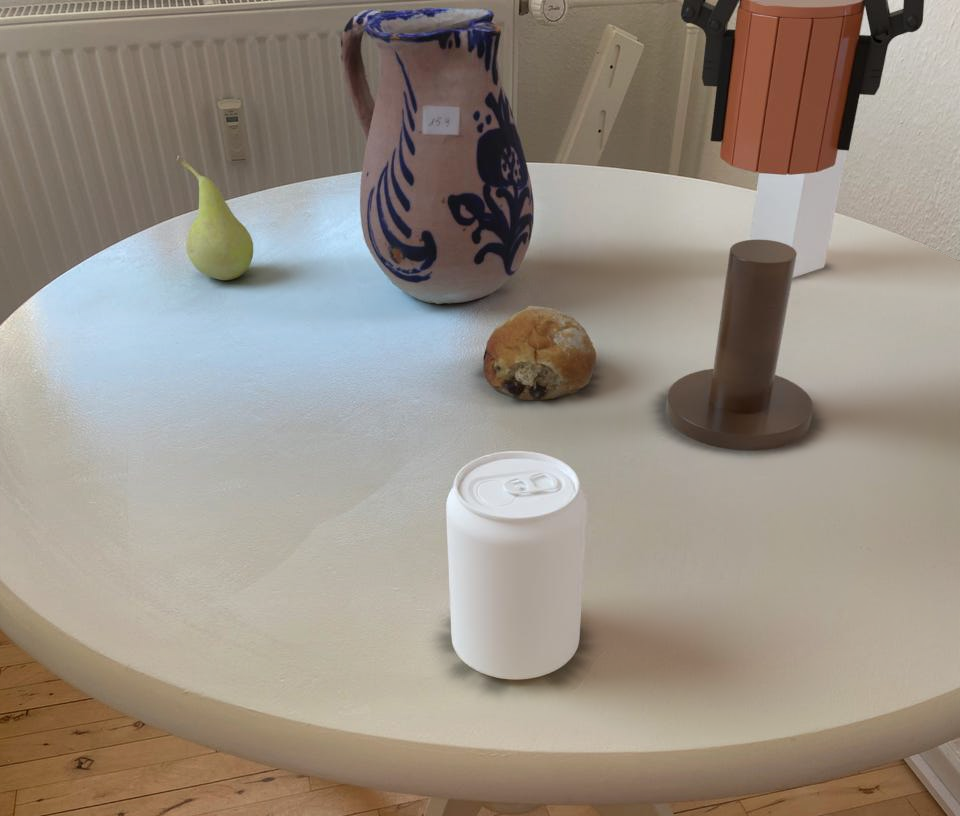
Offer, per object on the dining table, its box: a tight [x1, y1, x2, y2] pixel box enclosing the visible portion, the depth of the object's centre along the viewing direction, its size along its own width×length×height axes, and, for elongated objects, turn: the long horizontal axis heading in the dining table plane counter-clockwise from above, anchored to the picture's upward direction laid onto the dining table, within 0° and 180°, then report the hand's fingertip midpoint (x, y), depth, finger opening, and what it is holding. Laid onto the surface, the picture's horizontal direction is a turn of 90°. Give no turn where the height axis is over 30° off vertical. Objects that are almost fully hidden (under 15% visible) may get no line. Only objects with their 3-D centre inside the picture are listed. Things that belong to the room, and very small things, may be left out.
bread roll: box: [483, 305, 597, 401], centre depth 94 cm, size 10×10×8 cm
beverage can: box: [445, 450, 588, 680], centre depth 64 cm, size 8×8×12 cm
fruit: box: [176, 155, 254, 281], centre depth 111 cm, size 7×8×12 cm
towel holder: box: [665, 239, 814, 452], centre depth 85 cm, size 12×12×14 cm
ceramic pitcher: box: [340, 6, 535, 305], centre depth 104 cm, size 18×21×25 cm
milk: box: [748, 150, 848, 279], centre depth 108 cm, size 6×6×22 cm
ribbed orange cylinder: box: [719, 0, 866, 175], centre depth 72 cm, size 8×8×10 cm
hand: (780, 140), depth 75 cm, fingers closed on ribbed orange cylinder, 8 cm apart
